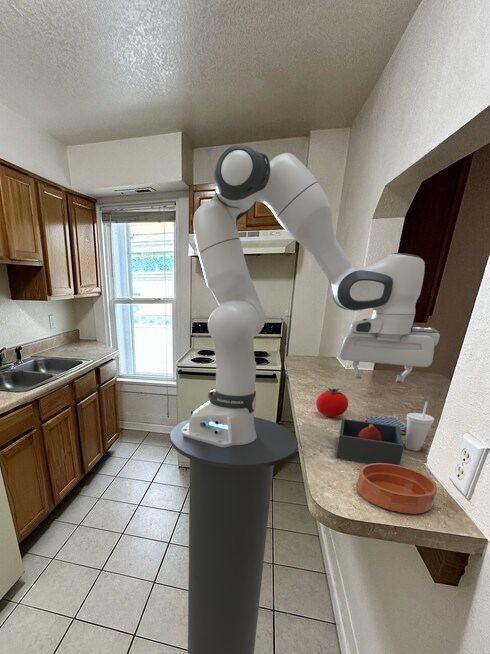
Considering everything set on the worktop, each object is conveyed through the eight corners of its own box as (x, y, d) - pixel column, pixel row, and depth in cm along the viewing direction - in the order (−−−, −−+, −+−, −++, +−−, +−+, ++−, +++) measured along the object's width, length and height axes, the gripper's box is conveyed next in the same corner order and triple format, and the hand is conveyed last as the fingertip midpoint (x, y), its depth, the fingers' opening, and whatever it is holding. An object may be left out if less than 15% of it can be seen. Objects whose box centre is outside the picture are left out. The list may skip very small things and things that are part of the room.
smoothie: (425, 454, 97) (438, 406, 92) (398, 449, 101) (409, 402, 96) (426, 446, 102) (439, 400, 97) (400, 441, 106) (411, 396, 101)
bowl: (356, 504, 76) (360, 486, 74) (357, 474, 88) (360, 458, 86) (437, 522, 70) (443, 503, 68) (426, 488, 81) (430, 470, 80)
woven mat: (375, 433, 111) (376, 427, 111) (362, 421, 121) (363, 416, 120) (410, 435, 110) (412, 429, 109) (395, 422, 120) (396, 417, 119)
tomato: (349, 421, 121) (354, 393, 118) (317, 420, 123) (321, 392, 120) (341, 411, 131) (346, 385, 127) (311, 410, 133) (315, 384, 129)
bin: (335, 458, 96) (339, 435, 94) (338, 438, 108) (341, 418, 106) (398, 469, 90) (404, 445, 88) (393, 447, 102) (398, 426, 100)
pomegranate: (370, 446, 101) (376, 420, 99) (383, 455, 96) (389, 427, 93) (351, 446, 101) (356, 420, 98) (362, 455, 96) (368, 428, 93)
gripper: (439, 326, 85) (424, 382, 90) (345, 322, 94) (336, 373, 99) (444, 329, 80) (428, 388, 85) (345, 324, 88) (335, 378, 93)
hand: (378, 380), depth 92 cm, fingers open, 8 cm apart
